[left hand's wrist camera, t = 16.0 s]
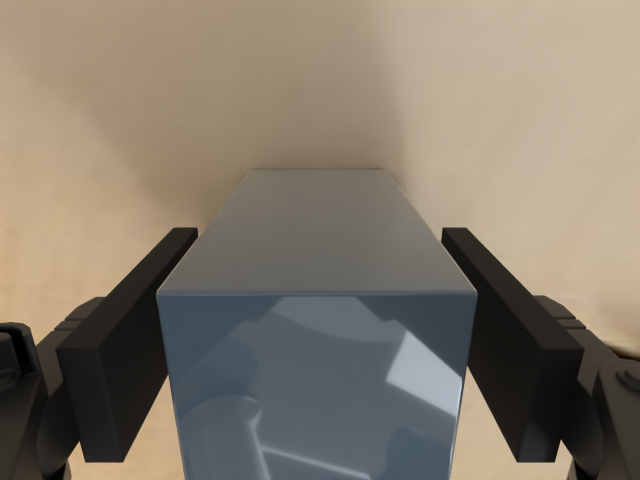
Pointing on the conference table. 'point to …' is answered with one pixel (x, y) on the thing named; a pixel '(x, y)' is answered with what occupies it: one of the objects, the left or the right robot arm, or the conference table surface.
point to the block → (317, 334)
